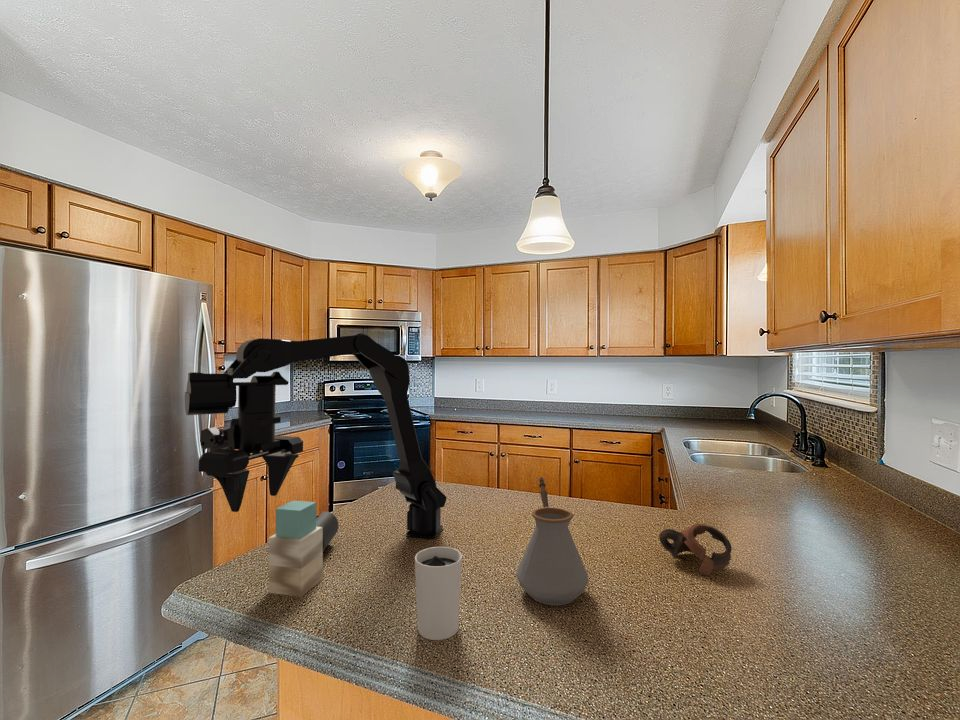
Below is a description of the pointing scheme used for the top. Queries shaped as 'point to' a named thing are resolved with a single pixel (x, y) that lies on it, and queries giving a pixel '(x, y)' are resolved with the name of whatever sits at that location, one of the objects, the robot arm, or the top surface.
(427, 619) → the white cup
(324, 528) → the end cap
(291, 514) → the teal block
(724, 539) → the brown curved piece
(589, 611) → the top surface
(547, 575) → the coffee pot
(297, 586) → the tower bottom block
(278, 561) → the tower middle block
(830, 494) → the top surface
